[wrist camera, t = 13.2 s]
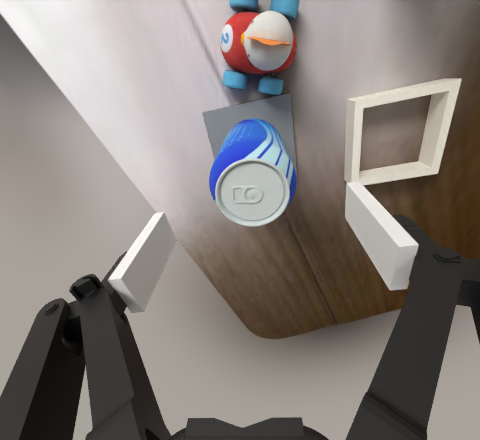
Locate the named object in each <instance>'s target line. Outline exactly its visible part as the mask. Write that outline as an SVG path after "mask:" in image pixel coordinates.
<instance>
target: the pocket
mask: <svg viewBox="0 0 480 440" xmlns="http://www.w3.org/2000/svg"><path fill="white" fill-rule="evenodd" d="M461 80H462V79H445V78H443V79H439V80H434V81H429V82H425V83H420V84H415V85H411V86H406V87H401V88H397V89H392V90H387V91H383V92H378V93H373V94H369V95H364V96H360V97H355V98H350V99H347V106H346V139H345V171H344V180H345V181H346V182H347V183H349V182H355V181H359V182H360V183H361V184H362V185H370V184H376V183H382V182H388V181H395V180H401V179H407V178H413V177H420V176H426V175H432V174H438V171H439V167H440V163H441V159H442V155H443V151H444V147H445V143H446V139H447V135H448V131H449V127H450V123H451V119H452V115H453V111H454V107H455V103H456V99H457V96H458V92H459V88H460V84H461ZM430 94H432V95H431V100H430V105H429V110H428V115H427V120H426V125H425V130H424V135H423V140H422V145H421V150H420V155H419V160H418V161H417V162H411V163H405V164H399V165H393V166H387V167H382V168H376V169H370V170H364V171H359V167H360V152H361V137H362V121H363V108H368V107H373V106H377V105H382V104H387V103H392V102H397V101H401V100H406V99H411V98H416V97H421V96H426V95H430Z"/></svg>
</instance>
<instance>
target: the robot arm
mask: <svg viewBox="0 0 480 440" xmlns="http://www.w3.org/2000/svg"><path fill="white" fill-rule="evenodd" d="M345 218H346V220H347V222H348V223H349V225H350V226H351V228H352V230H353V231H354V233H355V235H356V236H357V238H358V239H359V241H360V243H361V244H362V246H363V248H364V249H365V251H366V252H367V254H368V256H369V257H370V259H371V261H372V262H373V264H374V265H375V267H376V269H377V270H378V272H379V274H380V275H381V277H382V278H383V280H384V282H385V283H386V285H387V287H388V288H389V290H401V289H407V287H408V284H409V280H410V282H411V283H412V285H411V287H410V290H409V292H408V295H407V297H406V299H405V302H404V304H403V307H402V309H401V312H400V314H399V317H398V319H397V321H396V324H395V326H394V329H393V331H392V333H391V336H390V338H389V341H388V343H387V346H386V348H385V351H384V353H383V355H382V358H381V360H380V363H379V365H378V368H377V370H376V372H375V375H374V377H373V380H372V382H371V385H370V387H369V389H368V391H367V392H366V393H365V396H364V397H363V400H362V402H361V404H360V406H359V409H358V411H357V414H356V416H355V418H354V421H353V423H352V426H351V428H350V430H349V433H348V435H347V438H346V440H427V425H428V421H429V416H430V412H431V408H432V404H433V400H434V395H435V391H436V387H437V382H438V378H439V374H440V370H441V365H442V361H443V357H444V353H445V349H446V345H447V340H448V336H449V332H450V328H451V323H452V319H453V315H454V310H455V307H456V305H463V306H469V307H471V310H472V314H473V318H474V322H475V326H476V331H477V335H478V339H479V343H480V260H477V259H467V258H464V257H463V256H462V255H461V254H460V253H458V252H457V251H455V250H452V249H449V248H444V247H440V246H439V245H438V244H436V243H435V242H434V241H433V240H432V239H431V238H430V237H429V236H428V235H427V234H426V233H425V232H424V231H422V229H421V228H420V227H419V226H417V225H416V224H415V223H414V222H413V221H412V220H411V219H410V218H408V217H406V216H404V215H401V214H399V215H392V216H391V215H390V214H389V213H388V212H387V210H386V209H385V208H384V207H383V206H382V205H381V204H380V203H379V202H378V201H377V200H376V199H375V198H374V197H373V196H372V195H371V194H370V192H369V191H368V190H367V189H366V188H365V187H364V186H363V185H362V184H361V183H360V182H359V181H355V182H349V183H346V206H345ZM176 241H177V240H176V238H175V236H174V233H173V231H172V229H171V227H170V224H169V222H168V220H167V218H166V215H165V213H164V212H161V213H155V214H154V215H153V217H152V218H151V219H150V221H149V222H148V224H147V225H146V227H145V228H144V229H143V231H142V232H141V234H140V235H139V237H138V238H137V239H136V241H135V242H134V244H133V245H132V246H131V248H130V249H129V251H128V252H125V253H124V254H123V255H121V256H120V257H119V258H118V260H117V261H116V263H115V264H114V265H113V267H112V269H111V270H110V271H109V272H108V274H107V275H106V276H105V278H104V279H103V280H102V282H100V281H99V279H98V278H97V277H96V275H94V274H90V275H86V276H84V277H82V278H80V279H78V280H77V281H76V282H75V283H73V284H72V286H71V287H70V290H69V291H70V292H71V293H72V295H73V296H74V297H75V298H76V299H77V300H76V301H73V302H71V303H67V302H66V301H65V300H64V299H63V298H60V299H56V300H53V301H51V302H49V303H48V304H46V305H45V306H44V307H43V308H42V309H41V310H40V311H39V313H38V314H37V316H36V318H35V321H34V323H33V325H32V327H31V330H30V332H29V334H28V336H27V339H26V341H25V343H24V345H23V347H22V350H21V352H20V354H19V357H18V359H17V361H16V363H15V365H14V368H13V370H12V372H11V374H10V377H9V379H8V381H7V383H6V386H5V388H4V390H3V392H2V395H1V397H0V440H72V439H73V433H74V427H75V421H76V416H77V410H78V405H79V398H80V393H81V387H82V382H83V376H84V370H85V365H86V371H87V379H88V389H89V397H90V406H91V415H92V423H93V429H92V431H91V432H89V433H88V434H87V436H86V439H85V440H328V439H327V438H326V437H325V436H323V435H322V434H320V433H319V432H317V431H315V430H313V429H311V428H309V427H306V426H303V423H302V418H270V419H267V420H265V421H262V422H259V423H256V424H253V425H250V426H247V427H244V428H240V427H237V426H234V425H232V424H229V423H226V422H224V421H221V420H218V419H215V418H188V422H187V426H186V428H184V429H182V430H180V431H178V432H177V433H175V434H174V435H173V436H171V435H170V433H169V431H168V429H167V428H166V426H165V424H164V421H163V418H162V415H161V413H160V410H159V407H158V404H157V401H156V398H155V395H154V393H153V390H152V387H151V384H150V381H149V378H148V376H147V373H146V370H145V367H144V364H143V361H142V358H141V356H140V353H139V350H138V347H137V344H136V342H135V339H134V336H133V333H132V330H131V327H130V324H129V322H128V319H127V316H126V315H125V313H124V311H125V309H126V307H128V308H129V310H130V311H131V312H132V313H135V312H144V310H145V308H146V306H147V303H148V301H149V299H150V297H151V295H152V293H153V291H154V288H155V286H156V284H157V282H158V280H159V278H160V275H161V273H162V271H163V269H164V267H165V265H166V263H167V260H168V258H169V256H170V254H171V252H172V250H173V247H174V245H175V243H176Z"/></svg>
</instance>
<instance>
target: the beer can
mask: <svg viewBox="0 0 480 440" xmlns="http://www.w3.org/2000/svg"><path fill="white" fill-rule="evenodd" d="M209 185H210V191H211V194H212V197H213V199H214V201H215V203H216V204H217V205H218V207H219V208H220V210H221V211H222V213H223V214H224V215H225V216H226V217H227V218H228V219H230V220H231V221H233V222H235V223H237V224H240V225H243V226H252V227H253V226H261V225H265V224H268V223H270V222H272V221H274V220H275V219H276V218H278V217H279V216H280V215H281V214H282V213H283V211H284V210H285V208H286V207H287V206H288V205H289V203H290V201H291V200H292V198H293V196H294V193H295V189H296V173H295V169H294V166H293V164H292V161H291V159H290V157H289V155H288V152H287V150H286V148H285V145H284V143H283V141H282V139H281V136H280V134H279V133H278V131H277V130H276V129H275V127H274V126H272V125H271V124H270V123H268V122H266V121H264V120H261V119H247V120H243V121H241V122H239V123H237V124H236V125H235V126H234V127H232V129H231V130H230V131H229V132H228V134H227V136H226V138H225V140H224V142H223V144H222V147H221V149H220V151H219V153H218V155H217V157H216V159H215V161H214V164H213V166H212V168H211V172H210V178H209Z"/></svg>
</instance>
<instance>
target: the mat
mask: <svg viewBox="0 0 480 440" xmlns="http://www.w3.org/2000/svg"><path fill="white" fill-rule="evenodd" d="M203 117H204V121H205V125H206V128H207V132H208V136H209V140H210V143H211V147H212V151H213V155H214V158H215V159H216V157H217V155H218V153H219V151H220V149H221V147H222V144H223V142H224V140H225V138H226V136H227V134H228V132H229V131H230V130H231V129H232V127H234V126H235V125H236V124H237V123H239V122H241V121H243V120H247V119H261V120H264V121H266V122H268V123H270V124H271V125H272V126H274V127H275V129H276V130H277V131H278V133H279V134H280V136H281V139H282V141H283V143H284V145H285V148H286V150H287V152H288V155H289V157H290V159H291V161H292V164H293V166H294V169H295V173H296V179H297V168H296V156H295V143H294V131H293V119H292V106H291V94H290V93H287V94H282V95H278V96H274V97H269V98H265V99H260V100H256V101H252V102H247V103H243V104H238V105H234V106H230V107H225V108H221V109H216V110H212V111H208V112H203Z"/></svg>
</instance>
